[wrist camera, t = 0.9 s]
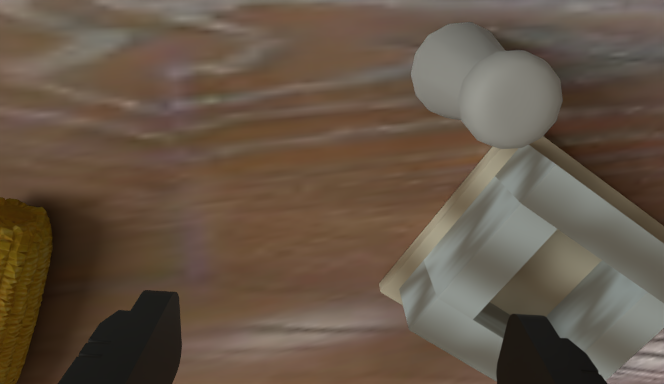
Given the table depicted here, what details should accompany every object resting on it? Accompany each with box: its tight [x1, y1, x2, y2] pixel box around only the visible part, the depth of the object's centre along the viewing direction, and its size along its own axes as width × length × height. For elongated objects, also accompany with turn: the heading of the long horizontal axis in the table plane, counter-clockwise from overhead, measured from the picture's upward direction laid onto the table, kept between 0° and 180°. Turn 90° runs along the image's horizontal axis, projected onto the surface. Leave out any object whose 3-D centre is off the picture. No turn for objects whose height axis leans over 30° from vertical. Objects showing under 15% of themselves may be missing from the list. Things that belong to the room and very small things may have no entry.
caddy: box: [379, 136, 664, 381], centre depth 35 cm, size 16×16×6 cm
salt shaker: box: [411, 22, 563, 149], centre depth 27 cm, size 6×6×13 cm
